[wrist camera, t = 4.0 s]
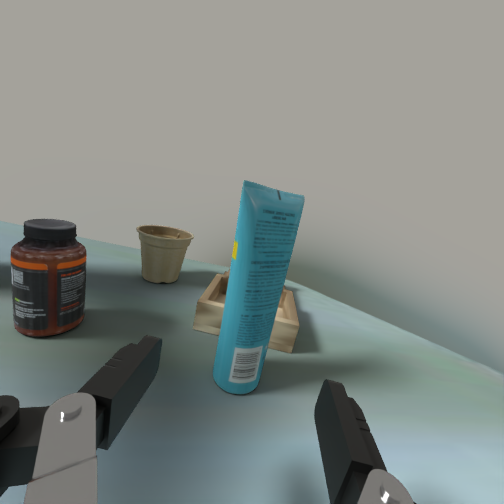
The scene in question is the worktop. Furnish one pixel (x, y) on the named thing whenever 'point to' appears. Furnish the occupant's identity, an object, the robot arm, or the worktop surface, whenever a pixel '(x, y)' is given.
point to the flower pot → (162, 252)
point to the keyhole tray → (213, 307)
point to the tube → (255, 283)
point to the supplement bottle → (48, 278)
